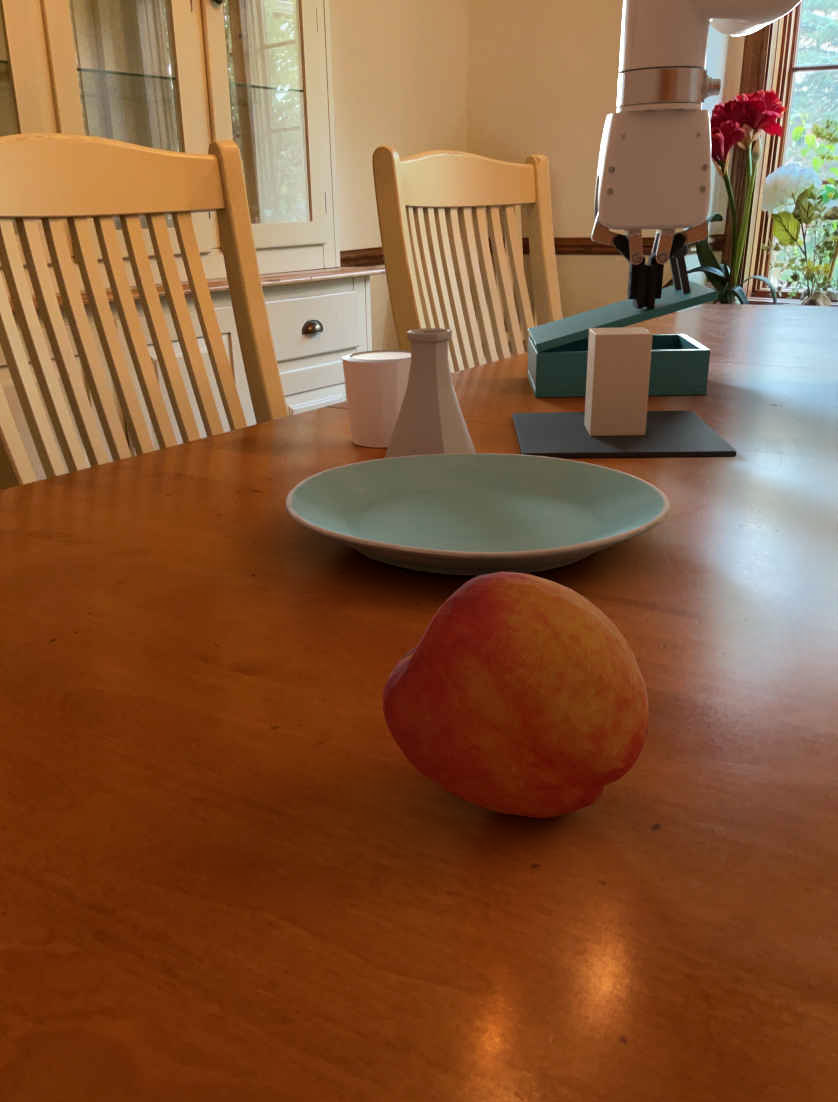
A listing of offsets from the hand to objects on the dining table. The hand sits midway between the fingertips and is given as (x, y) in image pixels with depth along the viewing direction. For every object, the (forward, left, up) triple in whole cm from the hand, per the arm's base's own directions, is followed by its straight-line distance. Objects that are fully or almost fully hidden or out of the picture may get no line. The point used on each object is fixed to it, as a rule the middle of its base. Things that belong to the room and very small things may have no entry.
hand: (643, 306), depth 101 cm
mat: (+5, +20, -8) cm, 22 cm away
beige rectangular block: (+5, +20, -8) cm, 22 cm away
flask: (+20, +31, -8) cm, 37 cm away
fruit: (+16, +77, -8) cm, 79 cm away
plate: (+17, +48, -8) cm, 51 cm away
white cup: (+24, +21, -8) cm, 33 cm away
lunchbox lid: (+2, -5, -2) cm, 5 cm away
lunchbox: (+2, -4, -8) cm, 10 cm away
